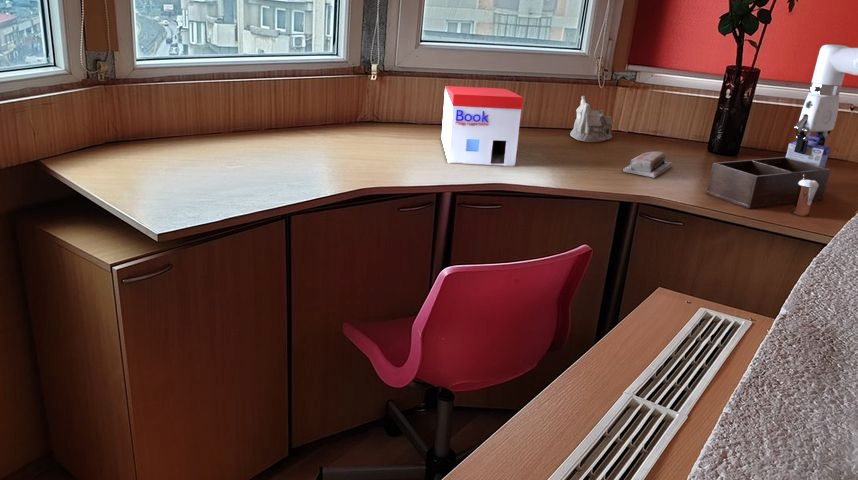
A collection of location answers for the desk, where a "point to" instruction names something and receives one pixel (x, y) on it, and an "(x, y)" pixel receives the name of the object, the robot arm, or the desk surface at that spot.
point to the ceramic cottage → (591, 124)
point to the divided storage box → (764, 181)
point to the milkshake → (805, 196)
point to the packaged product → (648, 164)
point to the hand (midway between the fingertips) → (808, 151)
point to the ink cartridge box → (810, 153)
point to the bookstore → (481, 125)
